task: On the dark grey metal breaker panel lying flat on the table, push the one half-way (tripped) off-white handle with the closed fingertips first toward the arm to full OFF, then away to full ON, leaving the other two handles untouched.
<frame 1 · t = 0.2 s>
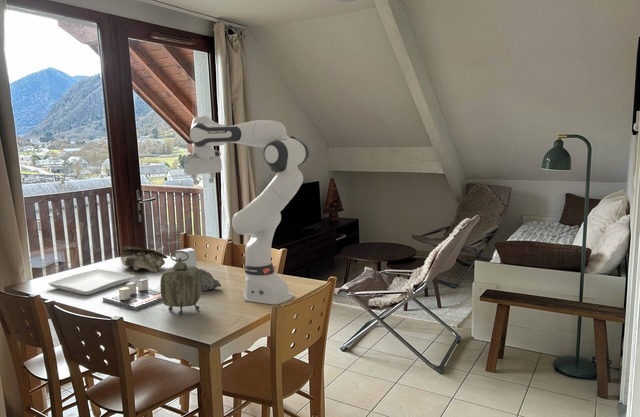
hand: (204, 183, 221), 48 cm above the table, fingers open, 8 cm apart
breaker b: (130, 288, 209), point 4 cm above the table, slide at 4.0 cm
square plate: (92, 286, 229), on the table
tabletop clock: (182, 313, 191), on the table
hollow geode rock: (143, 269, 258), on the table
skincare box: (187, 279, 237), on the table
breaker tripped: (124, 293, 202), point 4 cm above the table, slide at 0.0 cm
breaker a: (142, 284, 214), point 4 cm above the table, slide at 4.0 cm
mineral rock: (203, 291, 219), on the table
panel: (137, 299, 207), on the table
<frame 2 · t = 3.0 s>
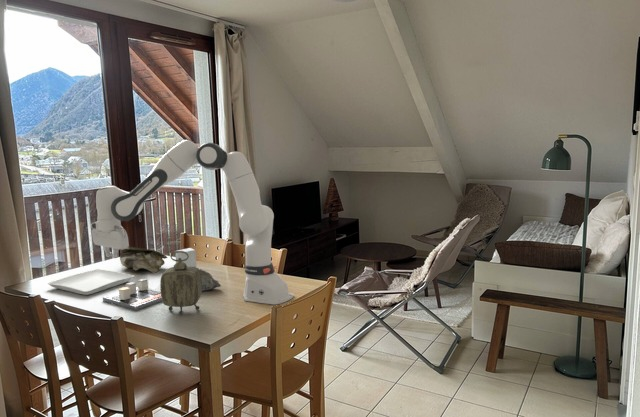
hand: (111, 257, 203), 19 cm above the table, fingers open, 3 cm apart
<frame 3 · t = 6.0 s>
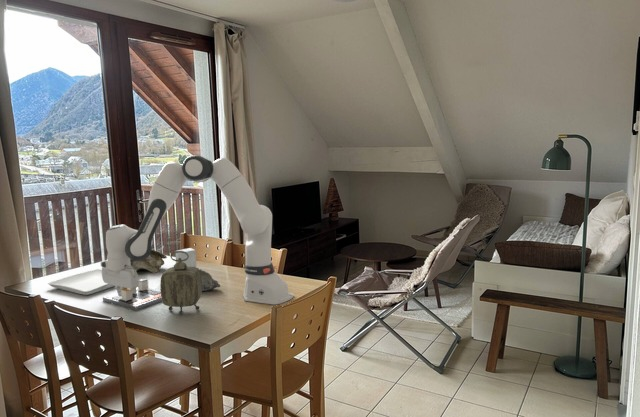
hand: (121, 295, 203), 3 cm above the table, fingers closed
breaker tripped: (126, 294, 201), point 4 cm above the table, slide at -1.7 cm, touching gripper
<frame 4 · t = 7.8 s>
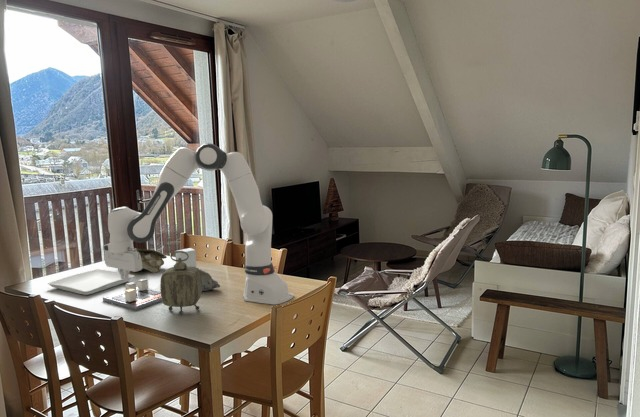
hand: (124, 279, 200), 11 cm above the table, fingers closed
breaker tripped: (130, 295, 200), point 4 cm above the table, slide at -4.1 cm
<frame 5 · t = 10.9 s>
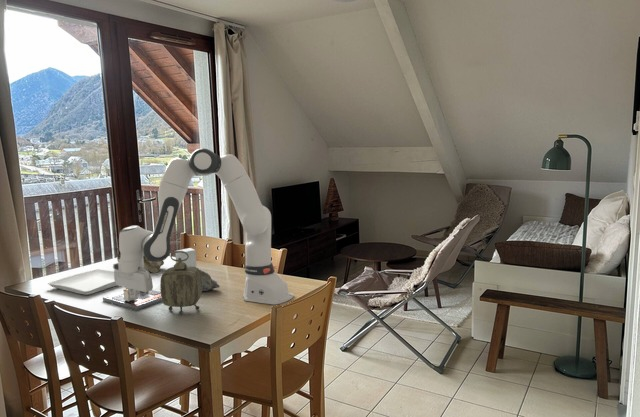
hand: (134, 298, 198), 3 cm above the table, fingers closed
breaker tripped: (128, 294, 200), point 4 cm above the table, slide at -3.0 cm, touching gripper
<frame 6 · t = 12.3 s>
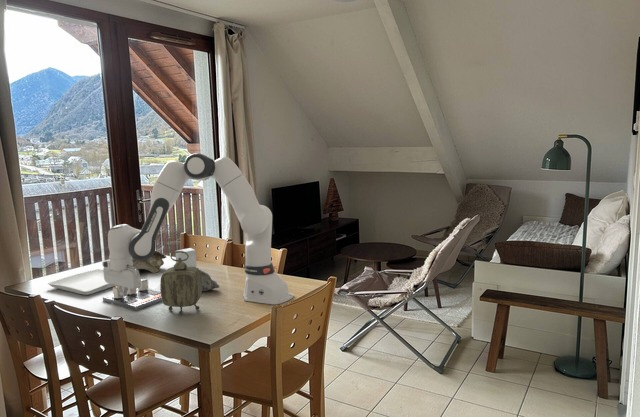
hand: (123, 295, 202), 3 cm above the table, fingers closed
breaker tripped: (118, 291, 204), point 4 cm above the table, slide at 4.1 cm, touching gripper
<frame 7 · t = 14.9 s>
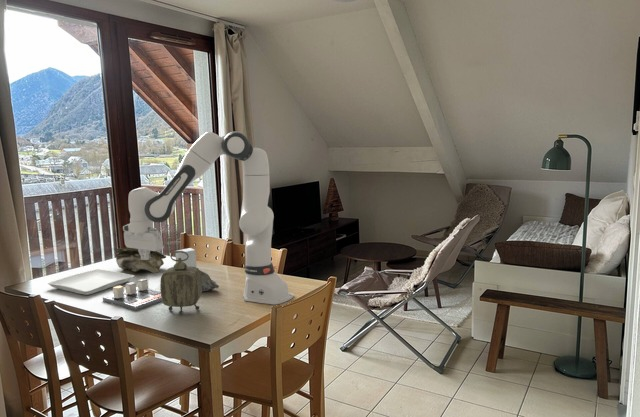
hand: (145, 259, 201), 19 cm above the table, fingers closed
breaker tripped: (118, 291, 204), point 4 cm above the table, slide at 4.1 cm
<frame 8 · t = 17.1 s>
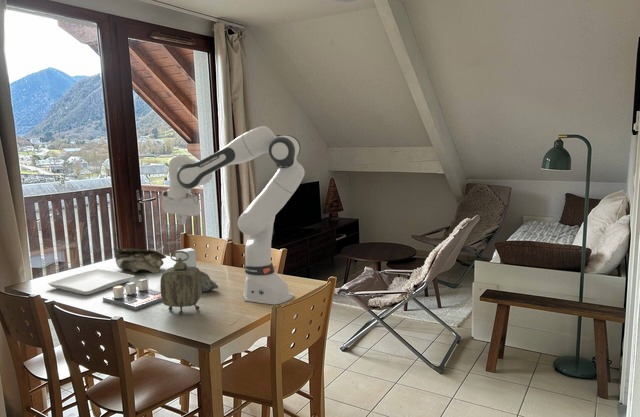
hand: (182, 224, 211), 31 cm above the table, fingers closed
at the end: breaker tripped slide at 4.1 cm; breaker a slide at 4.0 cm; breaker b slide at 4.0 cm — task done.
